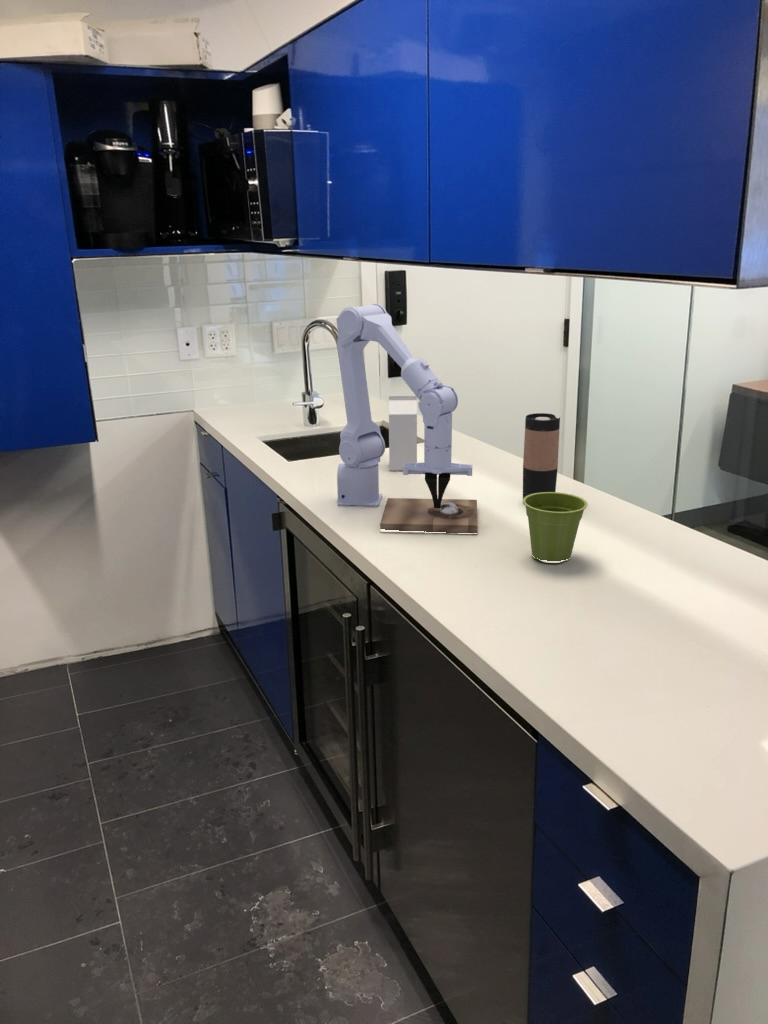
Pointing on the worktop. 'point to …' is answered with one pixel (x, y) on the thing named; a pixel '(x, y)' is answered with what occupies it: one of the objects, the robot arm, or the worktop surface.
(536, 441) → the travel mug
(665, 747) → the worktop surface
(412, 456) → the milk carton
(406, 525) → the deck
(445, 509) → the ball
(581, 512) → the plant pot
